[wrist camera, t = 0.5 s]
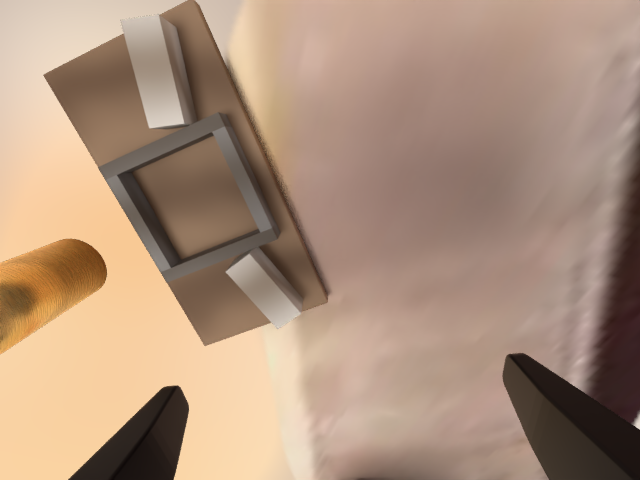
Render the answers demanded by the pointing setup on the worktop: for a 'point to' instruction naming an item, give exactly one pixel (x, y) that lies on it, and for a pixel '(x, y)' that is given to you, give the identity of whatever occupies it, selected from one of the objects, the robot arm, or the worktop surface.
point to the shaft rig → (190, 172)
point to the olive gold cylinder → (45, 286)
